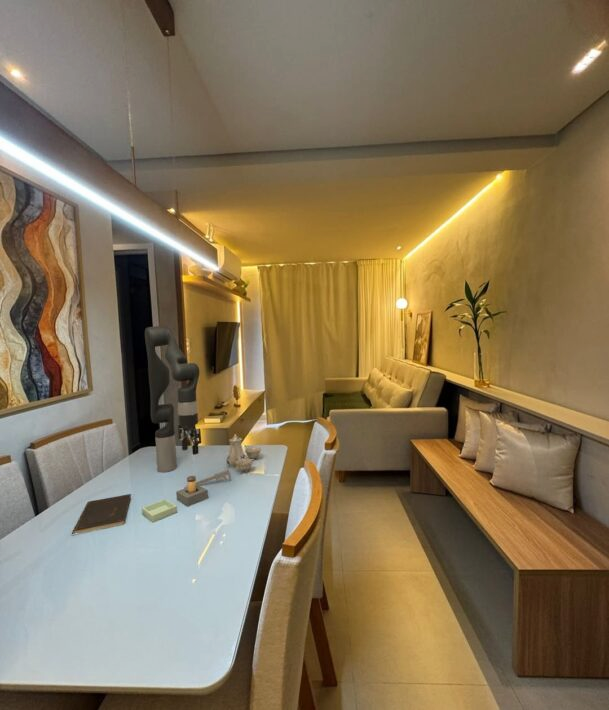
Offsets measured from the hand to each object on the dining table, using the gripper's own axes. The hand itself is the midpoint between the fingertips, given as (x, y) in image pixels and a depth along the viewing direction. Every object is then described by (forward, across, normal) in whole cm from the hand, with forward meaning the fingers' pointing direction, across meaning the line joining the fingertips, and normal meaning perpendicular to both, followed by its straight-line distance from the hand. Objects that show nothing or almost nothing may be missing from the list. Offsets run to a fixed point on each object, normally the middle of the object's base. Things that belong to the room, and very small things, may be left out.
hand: (190, 452), depth 140 cm
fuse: (+20, 0, 0) cm, 20 cm away
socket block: (+20, 0, 0) cm, 20 cm away
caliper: (+20, -8, +12) cm, 25 cm away
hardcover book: (+20, -15, -28) cm, 38 cm away
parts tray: (+20, +1, -14) cm, 24 cm away
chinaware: (+20, -15, +36) cm, 44 cm away
